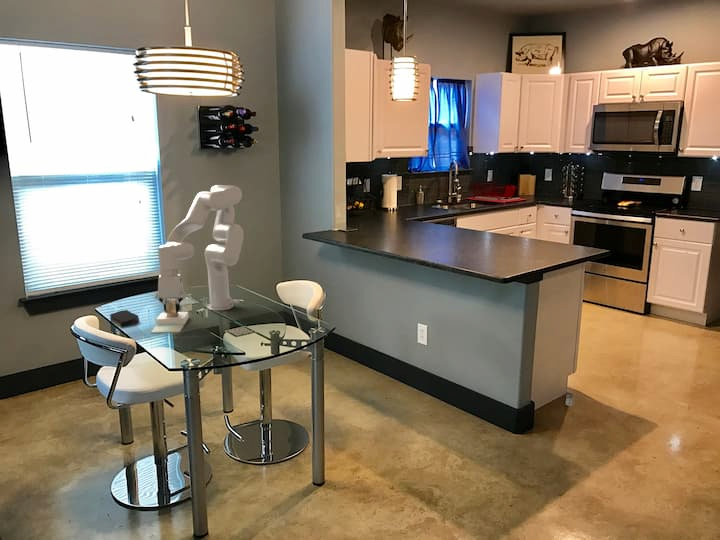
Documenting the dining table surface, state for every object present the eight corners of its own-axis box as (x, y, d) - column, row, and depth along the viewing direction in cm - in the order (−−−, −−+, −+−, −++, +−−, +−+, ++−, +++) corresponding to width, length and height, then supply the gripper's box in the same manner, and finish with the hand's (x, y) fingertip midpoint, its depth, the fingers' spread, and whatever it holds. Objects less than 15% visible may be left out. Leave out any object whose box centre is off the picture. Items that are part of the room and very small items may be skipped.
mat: (184, 326, 255) (183, 324, 255) (179, 333, 246) (179, 331, 246) (156, 327, 254) (156, 325, 254) (151, 334, 245) (150, 332, 245)
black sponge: (141, 324, 259) (140, 316, 258) (122, 328, 253) (121, 320, 252) (126, 316, 270) (126, 309, 270) (108, 320, 265) (107, 313, 264)
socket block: (188, 318, 266) (188, 311, 265) (184, 325, 256) (183, 318, 255) (162, 319, 264) (161, 312, 264) (156, 326, 255) (156, 319, 254)
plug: (178, 320, 262) (176, 299, 260) (176, 322, 258) (174, 301, 256) (169, 320, 262) (167, 299, 260) (167, 323, 258) (165, 301, 256)
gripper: (189, 270, 259) (192, 308, 263) (151, 271, 258) (155, 310, 262) (186, 273, 252) (189, 313, 256) (147, 275, 250) (151, 315, 255)
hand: (172, 311), depth 259 cm, fingers closed on plug, 4 cm apart
